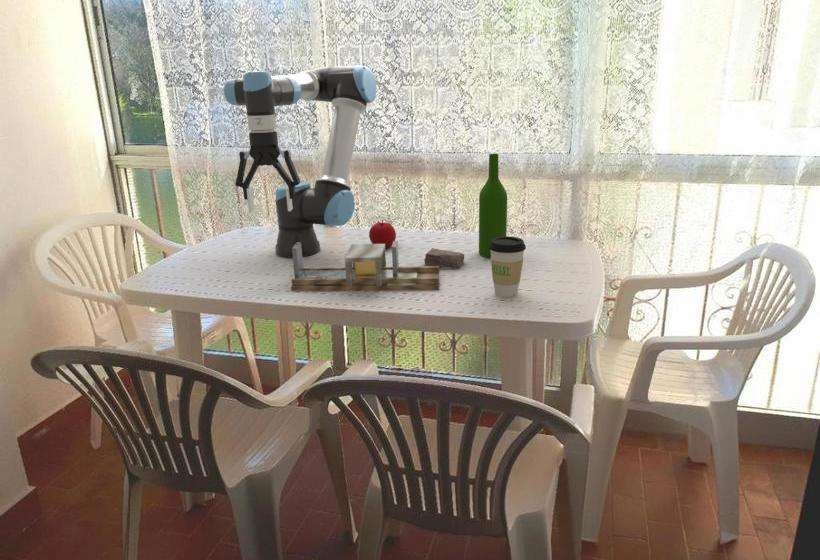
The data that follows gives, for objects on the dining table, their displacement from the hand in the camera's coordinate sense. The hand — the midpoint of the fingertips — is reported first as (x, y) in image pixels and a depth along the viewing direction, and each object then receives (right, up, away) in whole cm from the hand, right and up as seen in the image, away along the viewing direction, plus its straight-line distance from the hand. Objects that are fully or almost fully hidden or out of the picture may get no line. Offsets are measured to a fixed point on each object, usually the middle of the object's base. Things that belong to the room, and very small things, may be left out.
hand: (270, 210), depth 179 cm
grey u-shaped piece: (+21, -19, +5) cm, 29 cm away
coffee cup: (+66, -24, -6) cm, 70 cm away
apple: (+30, -9, +40) cm, 51 cm away
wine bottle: (+67, -11, +28) cm, 73 cm away
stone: (+50, -15, +20) cm, 56 cm away
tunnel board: (+27, -20, +6) cm, 34 cm away
